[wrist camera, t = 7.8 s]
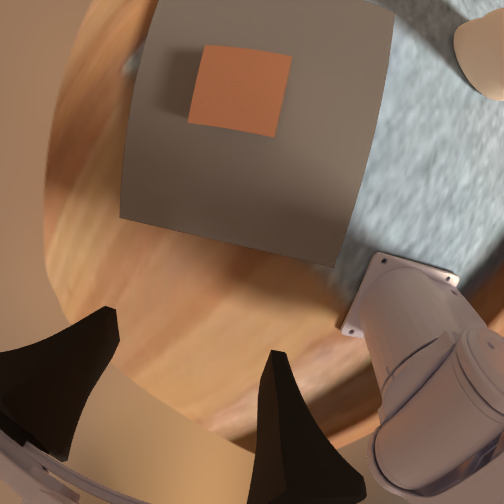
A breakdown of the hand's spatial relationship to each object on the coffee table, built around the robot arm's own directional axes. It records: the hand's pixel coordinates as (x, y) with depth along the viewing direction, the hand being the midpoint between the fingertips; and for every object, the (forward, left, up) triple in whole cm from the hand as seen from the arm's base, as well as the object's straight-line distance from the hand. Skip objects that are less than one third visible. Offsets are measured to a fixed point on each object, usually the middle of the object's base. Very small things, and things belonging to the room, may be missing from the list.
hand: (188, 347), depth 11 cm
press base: (0, -11, -10) cm, 15 cm away
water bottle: (-17, -22, -11) cm, 29 cm away
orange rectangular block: (0, -11, -11) cm, 15 cm away
